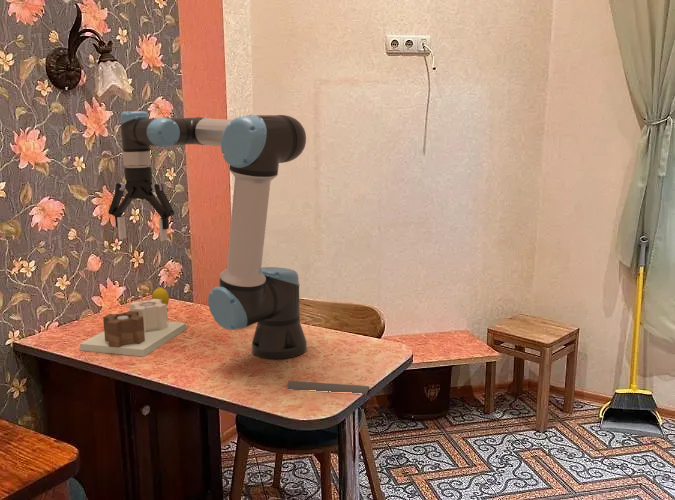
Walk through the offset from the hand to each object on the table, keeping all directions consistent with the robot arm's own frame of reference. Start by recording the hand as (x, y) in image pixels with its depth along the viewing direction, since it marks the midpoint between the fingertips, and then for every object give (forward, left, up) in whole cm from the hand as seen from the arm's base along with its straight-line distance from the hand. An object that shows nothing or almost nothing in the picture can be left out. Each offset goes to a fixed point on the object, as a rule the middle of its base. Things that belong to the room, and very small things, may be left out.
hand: (143, 239), depth 194 cm
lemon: (+9, -22, -29) cm, 37 cm away
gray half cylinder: (-64, +26, -29) cm, 75 cm away
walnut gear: (0, +13, -27) cm, 30 cm away
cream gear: (0, 0, -27) cm, 27 cm away
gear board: (+1, +6, -29) cm, 29 cm away
